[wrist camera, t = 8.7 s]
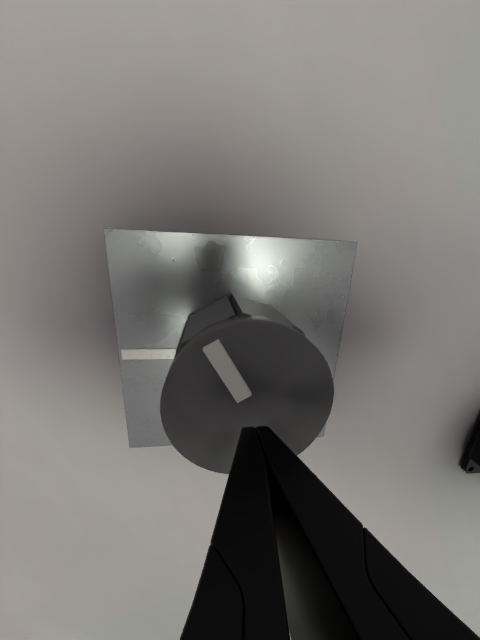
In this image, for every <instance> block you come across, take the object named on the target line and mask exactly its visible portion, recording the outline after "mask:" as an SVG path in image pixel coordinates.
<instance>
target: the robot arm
mask: <svg viewBox="0 0 480 640" xmlns="http://www.w3.org/2000/svg"><path fill="white" fill-rule="evenodd" d="M461 469H463V470H464V471H465V472H466V473H480V419H479V421H478V424H477V426H476V429H475V431H474V434H473V436H472V439H471V441H470V444H469V446H468V449H467V451H466V454H465V456H464V459H463V461H462V464H461ZM289 632H290V635H289ZM290 636H291V640H480V637H478V636H477V635H476V634H475V633H474V632H473V631H472V630H471V629H470V628H469V627H468V626H466V625H465V624H464V623H463V622H462V621H461V620H460V619H459V618H458V617H457V616H456V615H455V614H453V613H452V612H451V611H450V610H449V609H448V608H447V607H446V606H445V605H444V604H443V603H441V602H440V601H439V600H438V599H437V598H436V597H435V596H434V595H433V594H432V593H431V592H430V591H429V590H428V589H427V588H426V587H425V586H423V585H422V584H421V583H420V582H419V581H418V580H417V579H416V578H415V577H414V576H413V575H412V574H411V573H410V572H409V571H408V570H407V569H406V568H405V567H404V566H403V565H402V564H401V563H400V562H399V561H398V560H397V559H396V558H395V557H394V556H393V555H392V554H391V553H390V552H389V551H388V550H387V549H386V548H385V547H384V546H383V545H382V544H381V543H380V542H379V541H378V540H377V539H376V538H375V537H374V536H373V535H372V534H371V533H370V532H369V531H368V530H367V529H366V528H363V525H362V523H361V522H360V521H359V520H358V519H357V518H356V517H355V516H354V515H353V514H352V513H351V512H350V511H349V510H348V509H347V508H346V507H345V506H344V505H343V504H342V503H341V502H340V500H339V499H338V498H337V497H336V496H335V495H334V494H333V493H332V492H331V491H330V490H329V489H328V488H327V487H326V486H325V485H324V484H323V483H322V482H321V481H320V480H319V479H318V478H317V476H316V475H315V474H314V473H313V472H312V471H311V470H310V469H309V468H308V467H307V466H306V465H305V464H304V463H303V462H302V461H301V460H300V459H299V458H298V457H297V456H296V455H295V454H294V452H293V451H292V450H291V449H290V448H289V447H288V446H287V445H286V444H285V443H284V442H283V441H282V440H281V439H280V438H279V437H278V436H277V435H276V434H275V433H274V432H273V431H272V429H271V428H270V427H268V426H257V427H256V428H255V427H243V428H242V429H241V433H240V437H239V440H238V444H237V448H236V451H235V455H234V459H233V462H232V466H231V469H230V473H229V477H228V480H227V484H226V488H225V491H224V495H223V499H222V502H221V506H220V510H219V513H218V517H217V520H216V524H215V528H214V531H213V535H212V539H211V545H210V546H209V549H208V552H207V556H206V560H205V563H204V567H203V570H202V574H201V577H200V580H199V584H198V587H197V590H196V593H195V597H194V600H193V603H192V606H191V609H190V612H189V615H188V617H187V620H186V623H185V626H184V629H183V632H182V634H181V637H180V640H290Z"/></svg>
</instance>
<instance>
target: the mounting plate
mask: <svg viewBox="0 0 480 640" xmlns="http://www.w3.org/2000/svg"><path fill="white" fill-rule="evenodd" d="M104 236H105V244H106V253H107V261H108V269H109V278H110V286H111V295H112V303H113V312H114V320H115V329H116V337H117V345H118V354H119V362H120V371H121V379H122V388H123V396H124V405H125V413H126V421H127V430H128V438H129V447H130V448H134V447H151V446H168V445H172V443H171V442H170V440H169V439H168V437H167V435H166V433H165V431H164V428H163V424H162V421H161V415H160V399H161V393H162V389H163V386H164V383H165V380H166V377H167V374H168V371H169V368H170V366H171V363H172V361H173V359H174V357H175V353H176V349H177V346H178V343H179V340H180V337H181V334H182V331H183V328H184V325H185V322H186V320H187V321H188V320H189V317H190V315H192V314H194V313H196V312H197V311H199V310H201V309H203V308H205V307H206V306H208V305H210V304H212V303H214V302H215V301H217V300H219V299H221V298H223V297H224V296H226V295H227V297H228V299H229V300H230V302H231V298H232V295H236V296H240V297H243V298H247V299H250V300H254V301H257V302H261V303H264V304H268V305H272V306H273V307H274V308H275V309H276V310H278V311H279V312H280V313H281V314H282V315H284V316H285V317H286V318H287V319H288V320H290V321H291V322H292V323H293V324H294V325H296V326H297V327H298V328H299V329H300V330H302V331H303V332H304V334H305V336H306V338H307V339H308V340H309V341H310V342H311V343H313V344H314V345H315V346H316V347H317V348H318V350H319V351H320V352H321V353H322V355H323V356H324V358H325V360H326V362H327V363H328V365H329V368H330V371H331V374H332V379H334V373H335V367H336V362H337V356H338V350H339V345H340V339H341V333H342V328H343V322H344V316H345V310H346V305H347V299H348V293H349V288H350V282H351V276H352V271H353V265H354V259H355V253H356V248H357V242H349V241H330V240H311V239H292V238H273V237H254V236H235V235H216V234H197V233H178V232H159V231H140V230H121V229H104ZM325 425H326V423H325ZM325 425H324V427H323V429H322V430H321V432H320V433H319V434H318V436H317V437H323V436H324V430H325Z"/></svg>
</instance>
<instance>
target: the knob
mask: <svg viewBox="0 0 480 640" xmlns="http://www.w3.org/2000/svg"><path fill="white" fill-rule="evenodd" d="M333 395H334V387H333V379H332V374H331V371H330V368H329V365H328V363H327V362H326V360H325V358H324V356H323V355H322V353H321V352H320V351H319V350H318V348H317V347H316V346H315V345H314V344H313V343H311V342H310V341H309V340H308V339H307V338H306V336H305V334H304V332H303V331H302V330H300V329H299V328H298V327H297V326H296V325H294V324H293V323H292V322H291V321H290V320H288V319H287V318H286V317H285V316H284V315H282V314H281V313H280V312H279V311H278V310H276V309H275V308H274V307H273V306H272V305H268V304H264V303H261V302H257V301H254V300H250V299H247V298H243V297H240V296H236V295H232V298H231V302H230V300H229V299H228V297H227V295H226V296H224V297H223V298H221V299H219V300H217V301H215V302H214V303H212V304H210V305H208V306H206V307H205V308H203V309H201V310H199V311H197V312H196V313H194V314H192V315H190V317H189V320H188V321H187V320H186V322H185V325H184V328H183V331H182V334H181V337H180V340H179V343H178V346H177V349H176V353H175V357H174V359H173V361H172V363H171V366H170V368H169V371H168V374H167V377H166V380H165V383H164V386H163V389H162V393H161V399H160V415H161V421H162V424H163V428H164V431H165V433H166V435H167V437H168V439H169V440H170V442H171V443H172V445H173V446H174V447H175V448H176V449H177V451H178V452H179V453H180V454H181V455H183V456H184V457H185V458H187V459H188V460H189V461H191V462H192V463H194V464H196V465H198V466H200V467H202V468H205V469H207V470H211V471H214V472H218V473H224V474H229V473H230V469H231V466H232V462H233V459H234V455H235V451H236V448H237V444H238V440H239V437H240V433H241V429H242V428H243V427H255V428H256V427H257V426H268V427H270V428H271V429H272V431H273V432H274V433H275V434H276V435H277V436H278V437H279V438H280V439H281V440H282V441H283V442H284V443H285V444H286V445H287V446H288V447H289V448H290V449H291V450H292V451H293V452H294V454H295V455H296V456H297V455H298V454H300V453H301V452H302V451H304V450H305V449H306V448H307V447H308V446H309V445H310V444H311V443H312V442H313V441H314V439H315V438H316V437H317V436H318V434H319V433H320V432H321V430H322V429H323V427H324V425H325V423H326V421H327V419H328V417H329V414H330V411H331V407H332V403H333Z"/></svg>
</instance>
